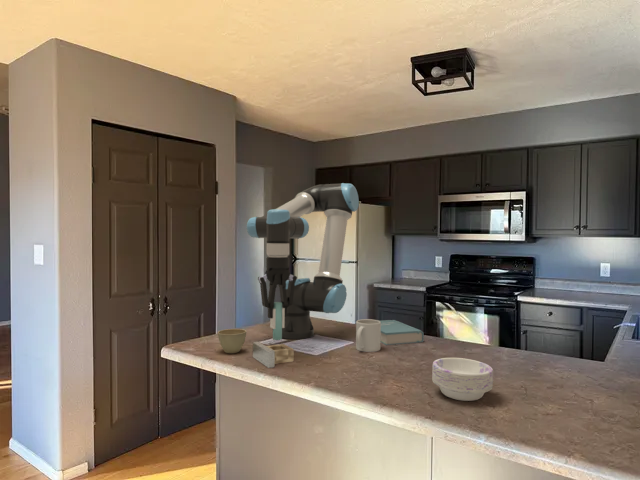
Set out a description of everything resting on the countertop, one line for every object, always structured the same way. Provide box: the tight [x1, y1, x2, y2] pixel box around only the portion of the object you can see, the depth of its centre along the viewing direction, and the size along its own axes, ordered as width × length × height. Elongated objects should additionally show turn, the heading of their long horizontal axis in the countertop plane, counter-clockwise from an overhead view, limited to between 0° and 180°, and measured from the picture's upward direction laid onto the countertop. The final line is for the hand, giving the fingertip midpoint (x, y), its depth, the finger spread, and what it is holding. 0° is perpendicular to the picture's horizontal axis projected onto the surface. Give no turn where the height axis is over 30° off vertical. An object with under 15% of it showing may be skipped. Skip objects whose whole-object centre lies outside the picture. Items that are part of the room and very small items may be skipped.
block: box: [266, 343, 295, 365], centre depth 151 cm, size 8×8×4 cm
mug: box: [355, 318, 382, 353], centre depth 165 cm, size 11×10×10 cm
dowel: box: [272, 301, 283, 341], centre depth 150 cm, size 3×3×12 cm
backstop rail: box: [252, 341, 276, 369], centre depth 148 cm, size 2×14×5 cm, turn 29°
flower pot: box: [217, 328, 247, 354], centre depth 161 cm, size 10×10×7 cm
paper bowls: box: [431, 357, 494, 402], centre depth 119 cm, size 15×15×8 cm
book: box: [379, 319, 425, 346], centre depth 185 cm, size 23×16×5 cm
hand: (277, 327), depth 150 cm, fingers closed on dowel, 2 cm apart
